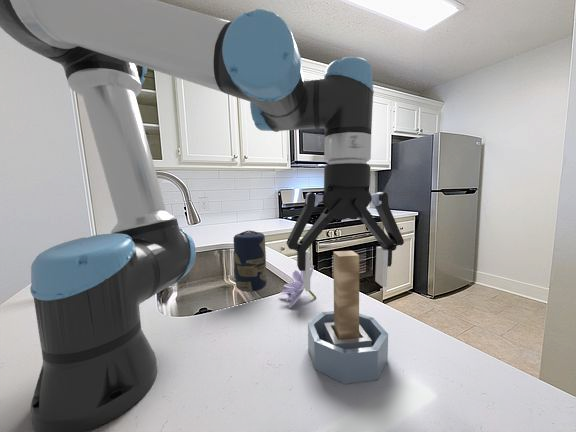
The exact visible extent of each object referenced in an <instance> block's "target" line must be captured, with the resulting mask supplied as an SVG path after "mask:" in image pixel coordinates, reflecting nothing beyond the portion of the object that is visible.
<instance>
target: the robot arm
mask: <svg viewBox="0 0 576 432" xmlns="http://www.w3.org/2000/svg"><path fill="white" fill-rule="evenodd" d="M0 28H1V29H2V31H4V32H5V33H6V34H7V35H8V36H9V37H11V38H12V39H14V41H17V43H19V44H20V45H22V46H23V47H26V48H27V49H28V50H30V51H32V52H34V53H36V54H38V55H40V56H42V57H45V58H46V59H49V60H51V61H53V62H55V63H58V64H59V65H61V66H62V67H63V70H64V74H65V76H66V80H67V83H68V86H69V88H70V90H72V91H73V92H74V93H76V94H77V95H79V96H81V97H82V99H83V100H82V101H83V103H84V106H85V110H86V113H87V117H88V121H89V124H90V128H91V131H92V134H93V138H94V142H95V145H96V148H97V152H98V155H99V159H100V164H101V166H102V170H103V173H104V177H105V181H106V185H107V189H108V190H109V194H110V198H111V201H112V205H113V206H112V207H113V209H114V212H115V213H114V214H115V216H116V219H117V222H116V224H115V226H114V227H113V229H112V230H110V233H103V234H94V235H91V236H88V237H80V238H76V239H71V240H68V241H64V242H62V243H59V244H56V245H54V246H51V247H49V248H47V249H46V250H44V251H42V252H40V253H39V254H38V255H37V256H36V257H35V258H34V260H33V261H32V263H31V266H30V273H31V274H30V277H31V278H30V279H31V282H30V283H31V286H30V288H29V289H30V294H31V296H32V297H33V302H34V309H35V315H36V322H37V323H36V324H37V329H38V335H39V336H38V337H39V343H40V348H41V349H40V350H41V356H42V365H41V369H40V371H39V375H38V379H37V382H36V385H35V389H34V392H33V396H32V397H33V398H32V400H31V403H30V417H31V422H32V424H31V425H32V428H33V429H34V432H89V431H91V430H94V429H96V428H99V427H101V426H103V425H105V424H108V423H109V422H111V421H113V420H114V419H116V418H117V417H119V416H121V415H123V414H124V413H126V412H127V411H128V410H130V409H131V408H132V407H134V406H135V405H136V404H137V403H138V402H139V401H140V400H141V399H142V398H144V396H145V395H146V394H147V393H148V392H149V391H150V389H151V388H152V386H153V384H154V383H155V380H156V378H157V374H158V363H157V356H156V353H155V352H154V350H153V348H152V346H151V344H150V342H149V340H148V339H147V337H146V335H145V334H144V333H145V332H143V330H142V323H141V312H140V310H141V309H140V305H141V304H142V303H144V302H146V301H147V300H149V299H150V298H152V297H154V296H155V295H157V294H158V293H160V292H161V291H163V290H165V289H166V288H167V289H168V287H171V286H174V285H175V284H176V283H178V282H180V281H181V280H182V278H184V277H185V276H186V275H187V274H188V273H189V272H190V271H191V269H192V267H193V266H194V264H195V260H196V256H197V254H196V253H197V250H196V245H195V243H194V240H193V237H191V235H190V234H189V233H187V232H186V231H185V230H184V229H183V228H180V227H179V222H178V218H177V216H174V215H173V214H171V213H170V212H168V211H167V209H166V206H165V202H164V201H165V200H164V198H163V193H162V191H161V187H160V182H159V179H158V175H157V172H156V168H155V162H154V159H153V156H152V153H151V148H150V145H149V142H148V137H147V135H146V134H147V133H146V130H145V126H144V123H143V119H142V115H141V111H140V108H139V104H138V100H137V97H138V96H139V95H140V93H141V92H142V89H143V88H142V85H143V84H144V83H145V80H146V78H145V77H144V76H145V75H147V72H148V69H150V70H152V71H155V72H159V73H161V74H163V75H164V74H165V75H168V76H171V77H174V78H177V79H180V80H183V81H187V82H189V83H193V84H196V85H199V86H202V87H205V88H208V89H212V90H215V91H218V92H221V93H224V94H226V95H229V96H232V97H234V98H238V99H241V100H243V101H248V102H249V106H250V107H249V108H250V114H251V118H252V120H253V123H254V126H255V128H257V129H258V130H260V131H262V132H263V131H264V132H265V131H267V132H268V131H269V132H274V133H277V132H278V133H279V132H282V131H299V130H301V131H302V130H314V129H315V130H317V129H318V130H319V129H324V151H323V153H324V154H323V157H324V158H323V159H324V160H323V161H324V162H325V163H327V164H326V165H325V167H324V168H323V170H324V171H323V175H324V176H323V177H324V178H323V185H324V186H323V188H324V189H323V193H322V194H315V193H313V192H307V193H306V194H305V196H304V205H303V208H302V210H301V211H300V213H299V216H298V218H297V220H296V222H295V224H294V226H293V228H292V230H291V232H290V234H289V236H288V238H287V241H286V245H287V247H288V249H289V250H294V251H296V253H297V255H296V257H297V258H296V259H297V260H296V266H297V268H298V270H299V271H300V272H301V271H303V286H304V290H305V291H306V292H308V291H311V278H310V270H311V252H310V250H309V248H310V246H312V244H313V243H314V242H315V241H316V239H317V238H318V237H319V236H320V234H321V233H322V232H323V231H324V230H325V229H326V227H327V226H328V225H329V224H330V223H331V222H333V220H334V219H337V220H339V221H343V220H346V219H348V220H349V219H350V220H357V219H359V220H360V221H361V222H362V223H363V225H365V227H366V228H367V229H368V230H369V233H371V234H372V236H373V237H374V238H375V240H377V242H378V243H379V245H380V246H376V247H375V249H376V250H375V251H376V252H375V282H376V283H377V284H378V285H380V287H382V288H384V287H385V288H387V285H388V284H387V283H388V267H392V263H393V262H392V261H393V252H394V251H395V250H397V247H398V246H403V245H404V243H405V241H404V239H403V236H402V233H401V231H400V229H399V226H398V225H397V221H396V220H395V218H394V215H393V212H392V210H391V208H390V206H389V195H388V193H387V192H384V191H383V192H381V191H378V192H375V193H371V192H370V187H371V186H370V185H371V167H372V166H371V165H370V164H369V163H367V162H370V161H371V159H372V128H373V127H372V126H373V124H372V123H373V109H374V108H373V104H374V95H375V94H374V93H375V90H374V86H373V85H374V81H373V76H374V75H373V72H374V71H373V67H372V65H371V63H370V62H369V61H368V60H367V59H365V58H362V57H359V56H358V57H357V56H346V57H342V59H339V60H338V59H336V60H334V61H332V62H330V63H329V64H328V65H327V67H326V68H325V72H324V73H325V74H324V77H323V78H316V79H307V80H306V79H305V77H304V74H303V70H302V69H303V68H302V65H303V64H302V56H301V53H300V51H299V50H300V49H299V48H298V46H297V43H296V41H295V39H294V36H293V33H292V31H291V29H290V27H289V26H288V24H287V23H286V22H285V20H284V19H283V18H282V17H280V15H278V14H277V13H275V12H273V11H271V10H267V9H265V8H264V9H263V8H256V9H254V10H251V11H248V12H243V13H242V14H241V13H240V14H239V15H238V16H237V17H236V18H235V19H233V21H230V20H226V19H223V18H220V17H216V16H212V15H209V14H206V13H202V12H199V11H194V10H191V9H188V8H185V7H180V6H177V5H175V4H170V3H166V2H164V1H160V0H0ZM320 203H322V204H323V206H324V207H325V209H324V210H323V211H322V213H321V214H320V216H319V217H318V218H317V220H316V221H315V222H314V223H313V225H312V226H311V227H310V228H309V229H308V230H307V232H306V233H305V234H304V235H303V232H304V231H305V229H306V226H307V224H308V222H309V220H310V218H311V216H312V214H313V212H314V209H315V208H316V207H318V205H319V204H320ZM371 203H372V205H373V206H375V209H376V212H377V214H378V217H379V218H380V222H381V223H382V225H383V228H384V229H382V227H381V226H380V225H379V224H378V223H377V221H376V220H375V218H374V217H373V215H372V214H371V211H369V210H368V206H369V205H370V204H371ZM384 230H385V231H384ZM302 235H303V237H302V238H301V236H302ZM300 238H301V239H300Z"/></svg>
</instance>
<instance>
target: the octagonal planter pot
mask: <svg viewBox="0 0 576 432" xmlns="http://www.w3.org/2000/svg"><path fill="white" fill-rule="evenodd" d="M307 339H308V340H307V348H308V352H309V354H310V355H309V356H310V358H311V361H312V365H313V369H314V370H317V371H318V372H319V373H322V374H323V375H326V376H328V377H329V378H332V379H333V380H336V381H337V382H340V383H341V384H343V385H347V384H356V383H364V382H365V383H366V382H372V381H378V380H379V378H380V376H381V374H382V373H383V371H384V369H385V366H386V365H387V362H388V360H389V359H388V357H389V355H388V354H389V333H388V332H387V331H386V330H385V329H384V327H383V326H382V325H381V324H380V323H379V322H378V321H377V319H376V318H375V317H372V316H369V315H366V314H363V313H359V338H353V339H343V340H338V338H337V337H336V335H335V333H334V310H332V311H330V310H329V311H322V312H321V313H319V314H318V315H317V316H316V317H314V318H313V319H312V320H311V321H309V322H308V323H307Z"/></svg>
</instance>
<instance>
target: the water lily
mask: <svg viewBox="0 0 576 432" xmlns="http://www.w3.org/2000/svg"><path fill="white" fill-rule="evenodd" d="M314 267H315V265H312V266H311V267H310V279H311V278H312V275H313V273H314ZM292 279H293V281H294V282H293V283H292V282H291V283H290V282H289V283H285V284H284V285H283V287H285V288H283V289H282V291H281V292H279V293H278V294H279V295H289V294H290V295H289V296H288V297H287V298H286V301H290V300H291V299H292V300H291V301H290V303H289V305H288V309H291V308H292V307H293V306H294V305H295V304H296V303H297V301H298V300H299V299H300V298H301V296H302V294H303V292H304V290H305V288H304V286H303V271H300V272H299V271H298V270H294V272H292ZM307 292H308V293H309V294H310V295H311V296H312V297H313V299H314V298H315V299H314V300H316V299H317V296H316V295H315V293H314V292H313V291H311V290H310V291H307Z"/></svg>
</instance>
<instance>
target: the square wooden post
mask: <svg viewBox="0 0 576 432" xmlns="http://www.w3.org/2000/svg"><path fill="white" fill-rule="evenodd" d="M332 252H333V264H332V265H333V311H334V333H335V335H336V337H337V338H338V340H343V339H353V338H359V314H360V255H359V254H358V253H356V252H355V251H354V250H340V251H339V250H338V251H332Z"/></svg>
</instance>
